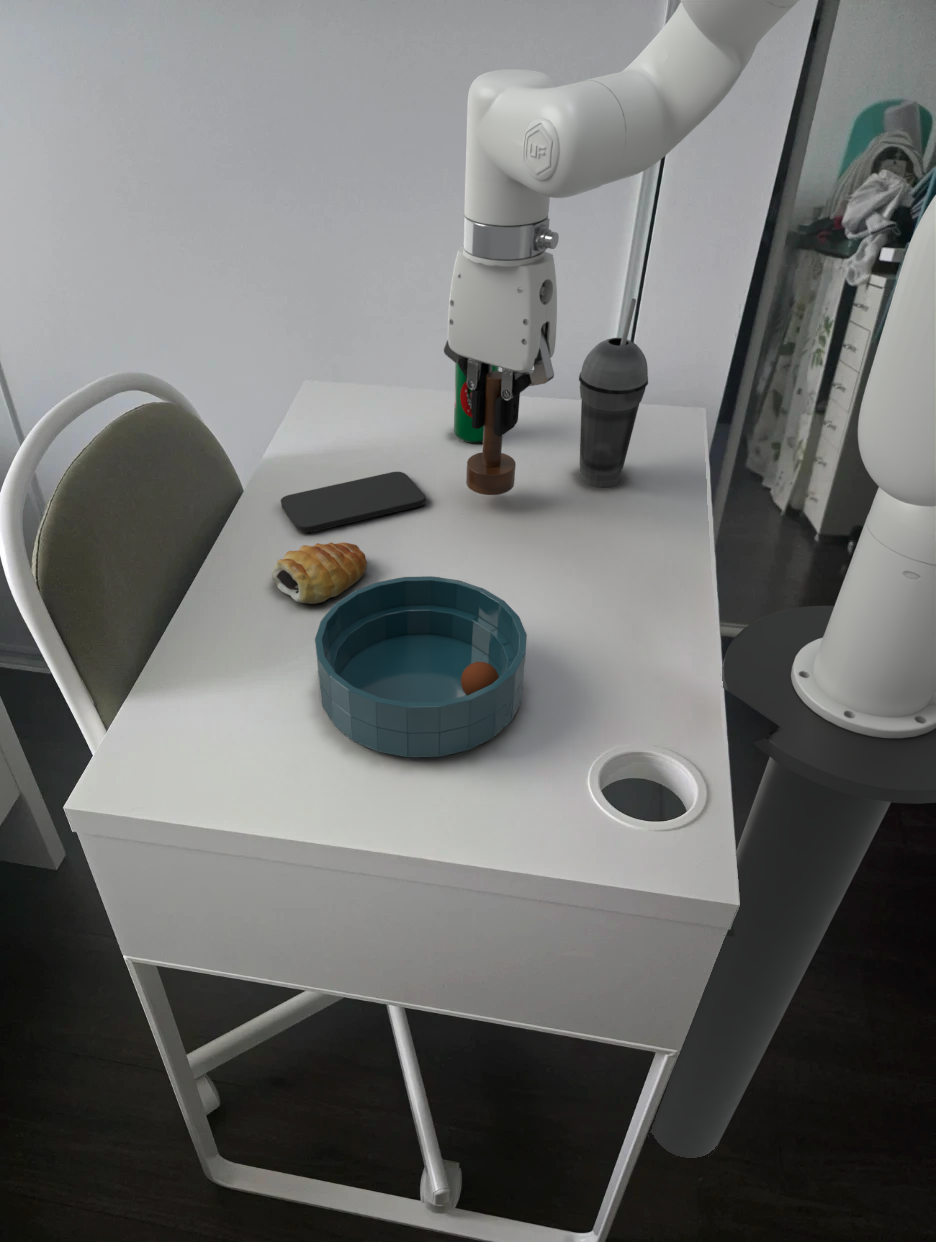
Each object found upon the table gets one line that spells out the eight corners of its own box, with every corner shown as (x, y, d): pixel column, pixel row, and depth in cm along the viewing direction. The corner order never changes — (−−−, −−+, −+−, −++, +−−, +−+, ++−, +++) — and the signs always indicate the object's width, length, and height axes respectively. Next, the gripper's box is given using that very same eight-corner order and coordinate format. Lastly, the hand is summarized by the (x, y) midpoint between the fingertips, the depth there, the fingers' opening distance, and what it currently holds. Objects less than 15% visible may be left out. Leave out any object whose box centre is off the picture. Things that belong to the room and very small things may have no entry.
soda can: (470, 422, 118) (474, 325, 110) (503, 433, 116) (509, 335, 108) (445, 436, 116) (446, 338, 107) (478, 449, 113) (482, 349, 105)
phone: (429, 499, 103) (299, 529, 99) (429, 505, 104) (300, 536, 99) (402, 469, 108) (277, 496, 104) (402, 476, 109) (278, 503, 104)
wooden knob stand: (515, 472, 104) (523, 365, 96) (513, 496, 100) (521, 387, 92) (468, 470, 104) (472, 363, 96) (464, 493, 101) (468, 385, 92)
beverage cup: (600, 455, 111) (625, 278, 97) (645, 480, 107) (678, 298, 93) (554, 474, 108) (573, 293, 95) (598, 500, 104) (624, 314, 90)
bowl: (524, 636, 86) (529, 582, 82) (516, 772, 74) (522, 716, 70) (340, 623, 88) (336, 570, 84) (302, 754, 76) (295, 698, 72)
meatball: (491, 649, 78) (454, 659, 79) (496, 680, 76) (458, 690, 77) (500, 671, 80) (464, 680, 81) (505, 701, 79) (468, 711, 79)
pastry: (341, 549, 98) (339, 517, 95) (383, 577, 94) (382, 545, 91) (267, 584, 93) (262, 552, 91) (307, 615, 89) (304, 582, 87)
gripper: (603, 241, 84) (578, 434, 96) (456, 211, 91) (452, 395, 104) (559, 264, 79) (540, 463, 92) (409, 231, 87) (410, 420, 99)
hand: (493, 426), depth 98 cm, fingers closed on wooden knob stand
